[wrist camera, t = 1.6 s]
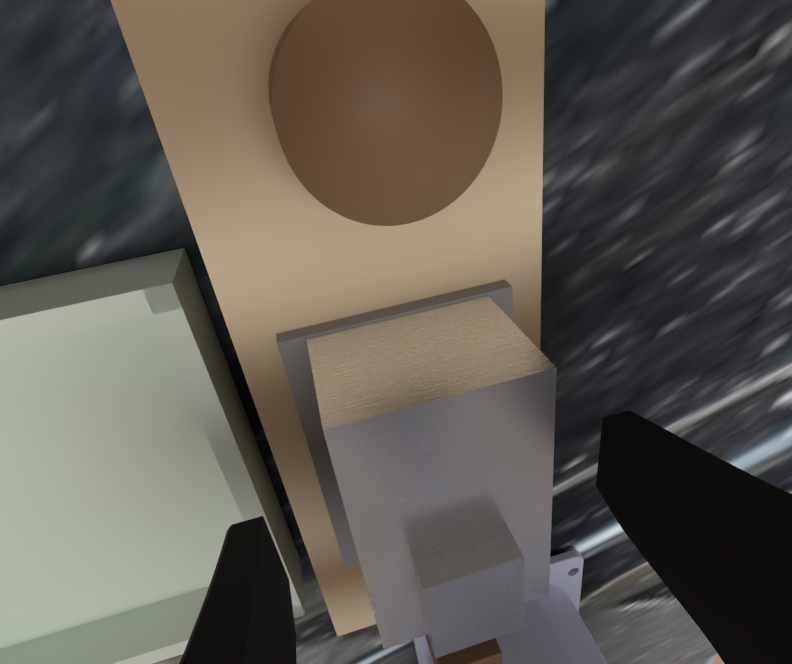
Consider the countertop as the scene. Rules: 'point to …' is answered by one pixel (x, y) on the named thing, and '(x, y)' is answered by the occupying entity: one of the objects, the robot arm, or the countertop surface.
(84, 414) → the parts tray
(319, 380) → the lever cap
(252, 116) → the hand plane
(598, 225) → the countertop surface
